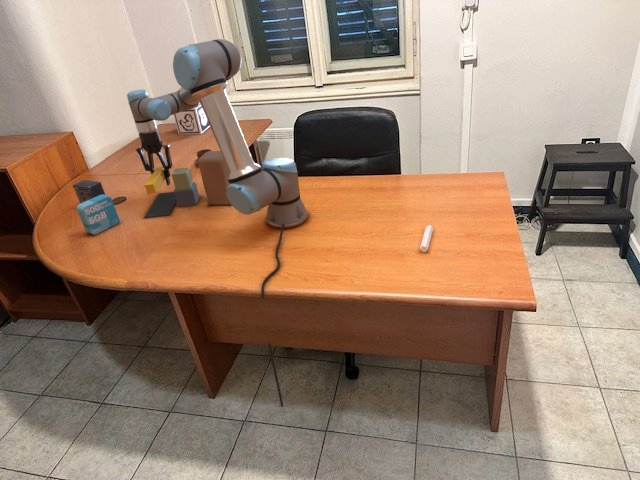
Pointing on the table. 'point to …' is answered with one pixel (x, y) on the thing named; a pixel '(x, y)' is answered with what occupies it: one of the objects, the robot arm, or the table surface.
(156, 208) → the mat
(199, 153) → the cup and saucer
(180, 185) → the tower
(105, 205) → the data package
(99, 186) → the small box
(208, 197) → the block
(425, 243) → the marker
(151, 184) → the bar
